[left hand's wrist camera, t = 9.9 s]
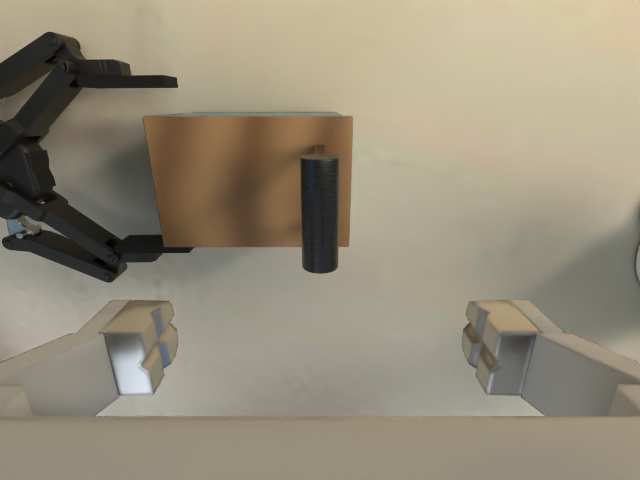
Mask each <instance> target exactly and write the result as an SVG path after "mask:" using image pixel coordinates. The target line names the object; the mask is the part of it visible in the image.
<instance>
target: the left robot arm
mask: <svg viewBox="0 0 640 480" xmlns="http://www.w3.org/2000/svg"><path fill="white" fill-rule="evenodd" d="M636 270H637V275H638V279H639V281H640V245H639V249H638V253H637V258H636ZM173 317H174V310H173V306H172V304H171V303H170V302H169V301H148V300H133V301H132V300H114V301H110V302H109V303H108V304H107V305H106V306H105V307H104V308H102V309H101V310H100V311H99V312H98V313H97V314H96V315H95V316H94V317H93V318H92V319H91V320H90V321H89V322H87V323H86V324H85V325H84V326H83V327H82V328H81V329H80V330H79V331H78V332H77V333H69V334H67V335H65V336H62V337H60V338H58V339H55V340H53V341H50V342H48V343H46V344H43V345H41V346H39V347H36V348H34V349H31V350H29V351H27V352H24V353H22V354H20V355H17V356H15V357H12V358H10V359H8V360H5V361H3V362H0V480H640V363H639V362H637V361H635V360H632V359H630V358H627V357H625V356H623V355H620V354H618V353H616V352H613V351H611V350H608V349H606V348H604V347H601V346H599V345H597V344H594V343H592V342H589V341H587V340H585V339H582V338H580V337H578V336H575V335H573V334H571V333H563V332H562V331H561V330H560V329H559V328H558V327H557V326H556V325H555V324H554V323H553V322H552V321H550V320H549V319H548V318H547V317H546V316H545V315H544V314H543V313H542V312H541V311H540V310H539V309H538V308H537V307H536V306H534V305H533V304H532V303H531V302H530V301H527V300H501V301H471V302H469V304H468V306H467V310H466V317H467V318H468V320H469V321H470V323H469V324H468V325H467V326H466V327H465V328H464V329H463V335H462V346H463V352H464V355H465V358H466V360H467V361H468V363H469V364H470V365H471V366H473V367H475V368H476V369H477V370H476V377H477V379H478V381H479V383H480V384H481V386H482V388H483V389H484V391H485V393H486V395H517V396H521V398H523V399H524V400H525V401H527V402H528V403H529V404H531V405H532V406H533V407H534V408H536V409H537V410H538V411H540V412H541V413H542V414H544V415H545V416H95V415H96V414H98V413H99V412H100V411H102V410H103V409H104V408H106V407H107V406H108V405H110V404H111V403H112V402H114V401H115V400H116V399H117V398H119V396H123V395H154V393H155V391H156V389H157V388H158V386H159V384H160V383H161V381H162V379H163V377H164V370H163V369H164V368H165V367H167V366H169V365H170V364H171V363H172V361H173V360H174V358H175V355H176V351H177V347H178V334H177V329H176V328H175V327H174V326H173V325H172V324H171V323H170V321H171V320H172V318H173Z"/></svg>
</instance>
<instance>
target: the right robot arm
mask: <svg viewBox="0 0 640 480" xmlns="http://www.w3.org/2000/svg"><path fill="white" fill-rule="evenodd" d="M50 71H52V72H51V73H50V74H49V75H48V77H47V78H46V79H45V80H44V81H43V83H42V84H41V85H40V86H39V88H38V89H37V90H36V91H35V92H34V94H33V95H32V96H31V97H30V99H29V100H28V101H27V102H26V103H25V105H24V106H23V107H22V108H21V110H20V111H19V112H18V113H17V114H16V116H15V117H14V118H13V119H11V120H8V121H7V122H3V121H2V120H0V217H2V218H4V219H6V221H7V225H8V230H9V236H7V237H5V238H3V240H2V244H3V246H4V247H5V248H7V249H9V250H17V251H28V252H32V253H34V254H37V255H39V256H42V257H44V258H47V259H49V260H52V261H54V262H57V263H59V264H62V265H65V266H67V267H70V268H72V269H75V270H77V271H80V272H82V273H85V274H87V275H90V276H92V277H95V278H97V279H100V280H102V281H105V282H112V281H114V280H115V279H116V278H117V277H118V276H119V275H121V274H122V273H123V272H124V271H125V270H126V269H127V264H126V262H153V261H155V260H157V259H158V258H159V257H160V256H161V255H162V253H190V251H191V250H192V249H193V248H194V247H164V244H163V238H162V235H129V236H127V237H126V238H124V239H123V240H121V239H119V238H118V237H116V236H115V235H113V234H112V233H110V232H109V231H107V230H106V229H104V228H103V227H101V226H100V225H98V224H97V223H95V222H94V221H92V220H91V219H89V218H88V217H86V216H85V215H83V214H82V213H80V212H79V211H77V210H76V209H74V208H73V207H71V206H70V205H69V204H68V201H67V200H66V199H65V198H64V197H62V196H61V195H59V194H58V193H56V192H55V191H53V186H56V184H55V180H54V177H53V175H52V173H51V171H50V169H49V158H48V154H47V150H43V149H42V147H41V146H40V145H39V143H40V142H41V140H42V139H43V138H44V137H45V136H46V135H47V133H48V132H49V129H48V128H49V127H50V126H51V124H52V123H53V122H54V121H55V120H56V119H57V117H58V116H59V115H60V114H61V113H62V112H63V110H64V109H65V108H66V107H67V106H68V105H69V104H70V102H71V101H72V100H73V99H74V98H75V97H76V95H77V94H78V93H79V92H80V91H81V90H82V88H83V87H87V88H178V84H177V78H176V77H170V76H164V75H143V76H131V71H130V66H129V64H127V63H125V62H122V61H117V60H86V59H85V58H84V57H83V55H82V54H81V52H80V44H79V42H78V41H77V40H76V39H75V38H72V37H68V36H65V35H61V34H57V33H53V32H47V33H45V34H43V35H42V36H40V37H39V38H37V39H36V40H34V41H33V42H32V43H30V44H29V45H27V46H26V47H24V48H23V49H21V50H20V51H18V52H17V53H15V54H14V55H12V56H11V57H9V58H8V59H6V60H5V61H3V62H2V63H0V107H1V105H3V104H4V103H5V100H4V99H3V98H5V97H9V96H12V95H14V94H16V93H17V92H19V91H21V90H22V89H24V88H25V87H27V86H28V85H30V84H31V83H33V82H34V81H36V80H38V79H39V78H41V77H42V76H44V75H45V74H47V73H48V72H50ZM42 202H45V203H44V204H41V203H42ZM26 215H27V216H28V217H30V218H31V219H33V220H35V221H42V222H45V223H46V224H48V225H49V226H51V227H52V228H54V229H55V230H57V231H59V232H60V233H62V234H63V235H65V236H66V237H68V238H66V237H64V236H61V235H59V234H57V233H54V232H51V231H47V230H41V229H42V227H41V226H40V225H34V224H31V223H29V222H28V221H27V220H26V218H25V216H26Z"/></svg>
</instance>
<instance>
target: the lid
mask: <svg viewBox="0 0 640 480" xmlns="http://www.w3.org/2000/svg"><path fill="white" fill-rule="evenodd" d="M143 122H144V128H145V134H146V140H147V147H148V153H149V159H150V165H151V171H152V177H153V183H154V189H155V195H156V201H157V207H158V213H159V219H160V225H161V232H162V238H163V244H164V247H302V266H303V268H304V269H305V270H306V271H308V272H311V273H329V272H332V271H334V270H336V269H337V267H338V247H349V234H350V200H351V167H352V134H353V117H352V116H144V117H143Z"/></svg>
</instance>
